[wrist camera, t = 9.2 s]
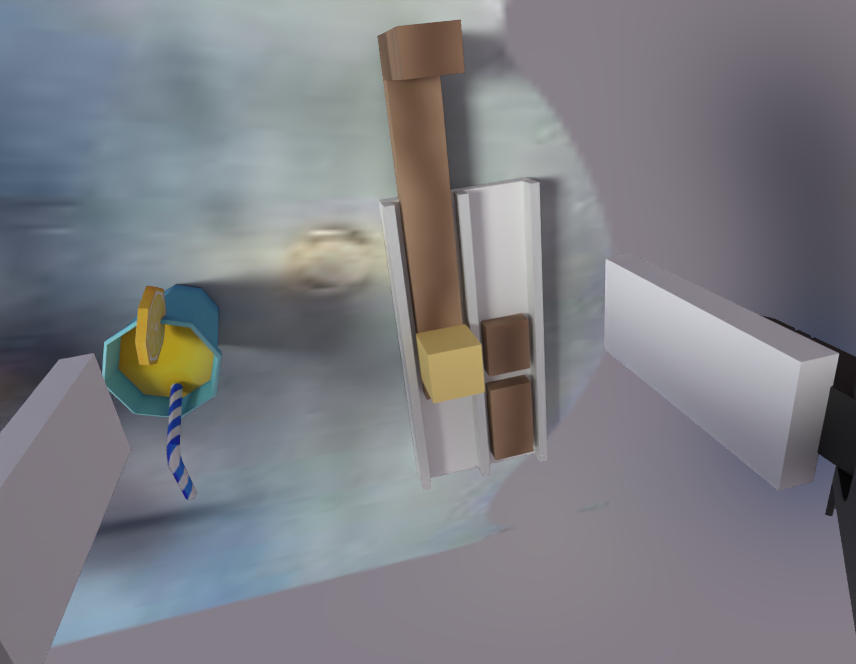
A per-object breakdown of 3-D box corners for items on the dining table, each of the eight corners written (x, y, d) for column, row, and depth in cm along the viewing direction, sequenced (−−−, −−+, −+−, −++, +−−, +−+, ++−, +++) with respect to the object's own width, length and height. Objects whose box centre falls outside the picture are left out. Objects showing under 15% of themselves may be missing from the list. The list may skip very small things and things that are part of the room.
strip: (423, 391, 55) (444, 437, 48) (377, 36, 43) (397, 26, 35) (463, 382, 55) (491, 427, 48) (430, 30, 43) (460, 19, 36)
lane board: (417, 473, 60) (423, 490, 57) (378, 200, 48) (384, 206, 46) (536, 445, 62) (547, 460, 59) (526, 177, 50) (539, 182, 48)
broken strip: (490, 451, 59) (495, 460, 58) (480, 321, 53) (486, 327, 52) (527, 442, 60) (533, 451, 59) (521, 313, 54) (528, 319, 53)
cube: (421, 379, 52) (433, 403, 48) (415, 333, 51) (427, 355, 47) (469, 368, 53) (485, 392, 49) (465, 324, 51) (481, 344, 47)
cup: (257, 385, 52) (249, 490, 39) (168, 406, 51) (127, 521, 37) (212, 233, 46) (183, 294, 33) (110, 253, 45) (36, 324, 32)
